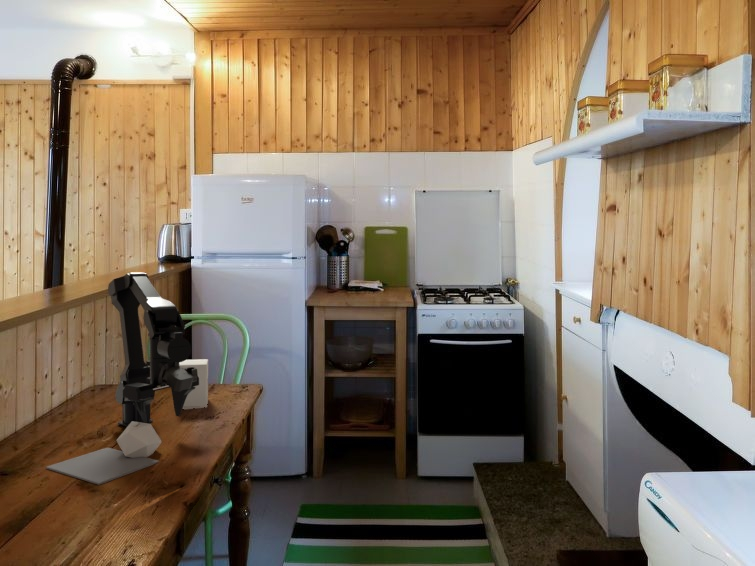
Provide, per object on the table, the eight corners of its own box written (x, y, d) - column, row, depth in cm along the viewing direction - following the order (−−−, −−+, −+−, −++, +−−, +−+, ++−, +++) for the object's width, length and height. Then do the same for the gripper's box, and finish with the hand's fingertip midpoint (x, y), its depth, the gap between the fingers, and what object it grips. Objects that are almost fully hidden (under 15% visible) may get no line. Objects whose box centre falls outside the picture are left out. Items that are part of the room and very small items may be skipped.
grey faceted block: (173, 434, 144) (152, 416, 136) (157, 470, 138) (134, 453, 131) (143, 429, 146) (121, 411, 138) (127, 465, 141) (102, 448, 133)
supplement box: (174, 417, 170) (174, 365, 170) (177, 408, 179) (176, 359, 178) (207, 415, 173) (207, 363, 172) (208, 407, 181) (208, 358, 181)
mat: (46, 468, 129) (45, 466, 129) (107, 448, 142) (107, 447, 142) (99, 484, 121) (98, 483, 120) (159, 462, 134) (159, 460, 134)
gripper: (153, 366, 132) (154, 435, 133) (214, 354, 149) (215, 416, 149) (120, 361, 138) (121, 428, 139) (183, 350, 154) (183, 410, 155)
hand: (163, 420), depth 145 cm, fingers open, 9 cm apart
